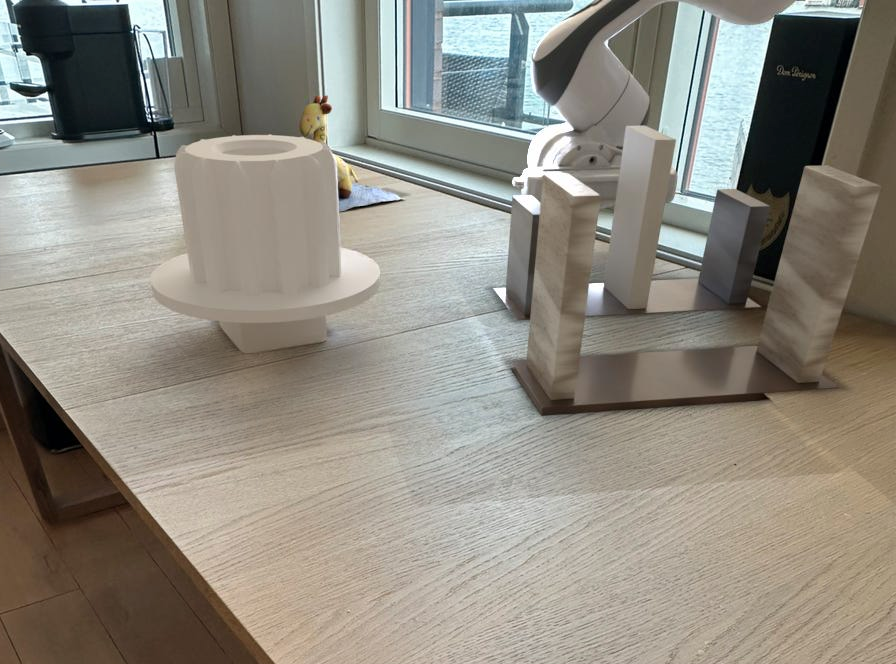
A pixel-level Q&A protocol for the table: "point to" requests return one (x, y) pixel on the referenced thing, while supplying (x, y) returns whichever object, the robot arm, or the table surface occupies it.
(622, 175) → the white rectangular block
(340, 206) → the stuffed giraffe
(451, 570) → the table surface
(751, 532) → the table surface
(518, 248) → the grey stand
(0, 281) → the table surface
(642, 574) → the table surface
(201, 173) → the flanged gear
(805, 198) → the marble pillar rack
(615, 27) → the robot arm
